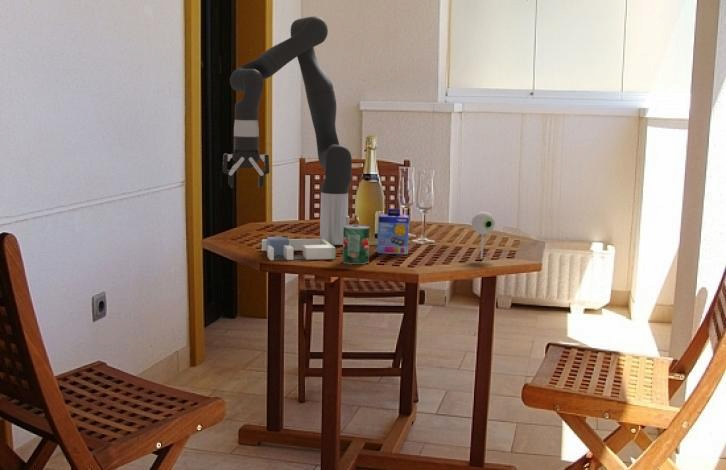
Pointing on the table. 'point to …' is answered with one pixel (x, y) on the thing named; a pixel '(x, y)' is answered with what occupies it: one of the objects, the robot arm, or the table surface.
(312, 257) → the white open shelf
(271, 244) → the block
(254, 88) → the robot arm
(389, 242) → the ink cartridge box
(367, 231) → the canned tomato
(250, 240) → the table surface
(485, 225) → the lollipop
